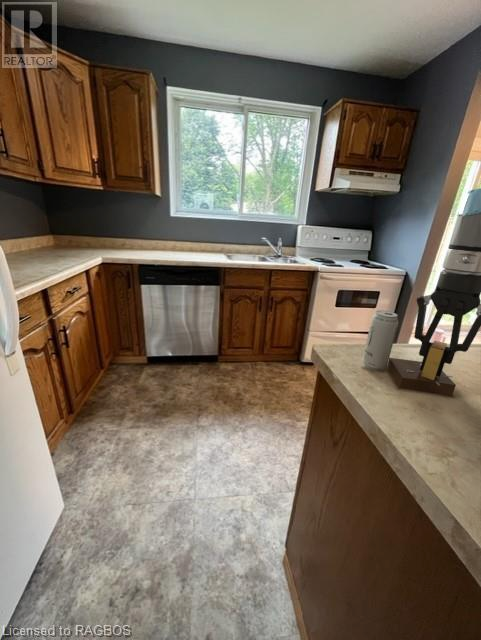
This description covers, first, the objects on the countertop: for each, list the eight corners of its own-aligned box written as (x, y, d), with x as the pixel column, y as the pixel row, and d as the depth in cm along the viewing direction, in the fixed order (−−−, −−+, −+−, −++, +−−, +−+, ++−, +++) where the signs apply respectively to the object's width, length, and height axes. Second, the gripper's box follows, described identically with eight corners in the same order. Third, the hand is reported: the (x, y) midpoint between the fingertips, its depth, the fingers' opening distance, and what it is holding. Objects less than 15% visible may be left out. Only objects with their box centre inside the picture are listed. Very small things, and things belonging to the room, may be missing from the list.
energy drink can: (359, 359, 76) (370, 308, 70) (382, 362, 75) (395, 311, 69) (364, 370, 70) (376, 316, 65) (389, 373, 69) (404, 318, 64)
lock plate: (435, 374, 70) (439, 363, 69) (459, 400, 60) (464, 388, 59) (386, 367, 72) (389, 356, 71) (401, 392, 62) (404, 380, 61)
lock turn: (425, 367, 67) (434, 339, 64) (437, 371, 65) (447, 342, 62) (421, 376, 63) (430, 346, 60) (433, 380, 61) (444, 349, 59)
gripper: (416, 267, 58) (390, 364, 66) (516, 280, 48) (471, 392, 56) (423, 264, 63) (398, 354, 71) (514, 275, 53) (473, 378, 61)
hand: (430, 371), depth 64 cm, fingers closed on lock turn, 2 cm apart
